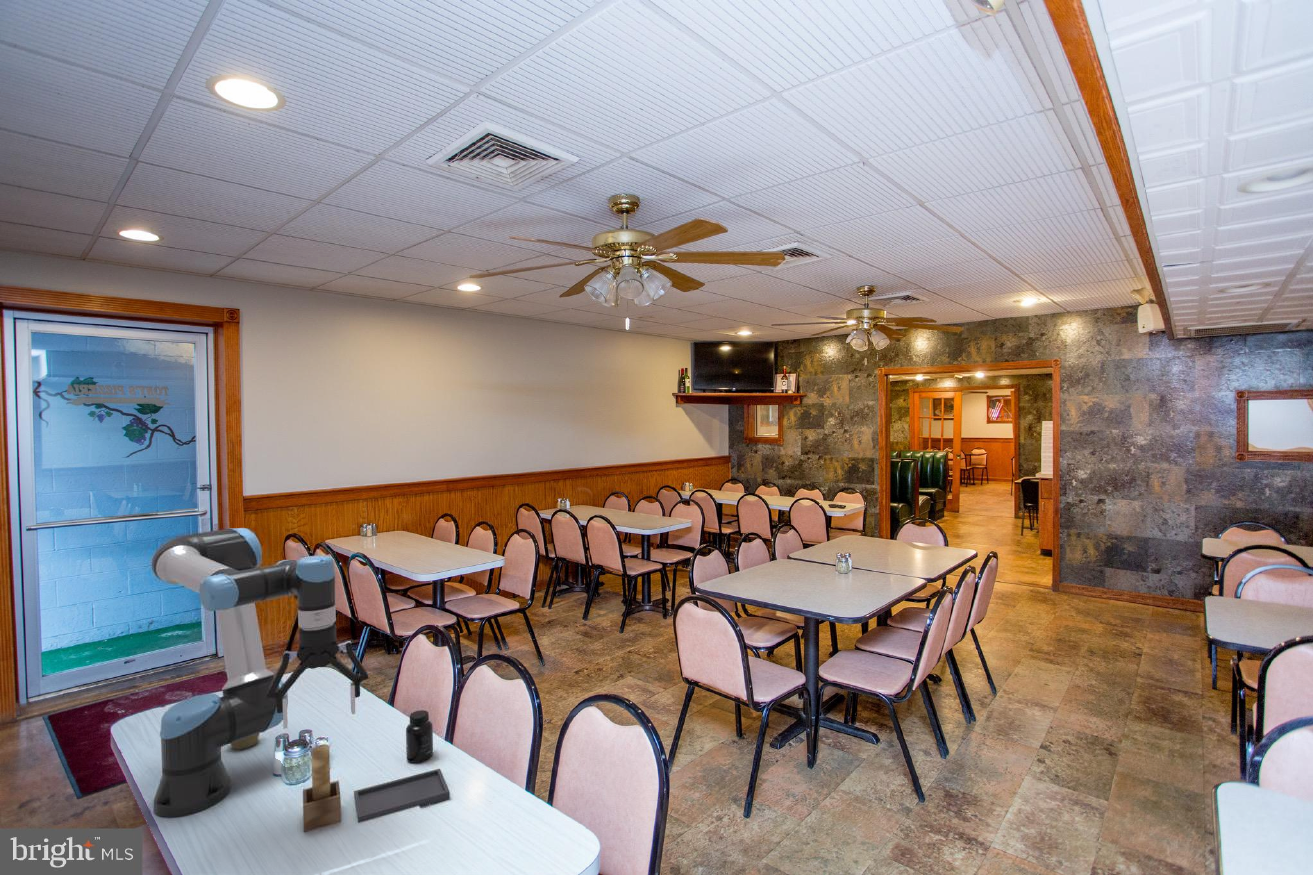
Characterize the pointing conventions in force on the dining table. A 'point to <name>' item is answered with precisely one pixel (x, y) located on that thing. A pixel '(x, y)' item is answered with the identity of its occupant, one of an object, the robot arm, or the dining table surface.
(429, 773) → the tray
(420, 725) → the supplement bottle
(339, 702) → the dining table surface
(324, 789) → the dowel
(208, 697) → the robot arm
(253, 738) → the squeeze bottle
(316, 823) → the box
